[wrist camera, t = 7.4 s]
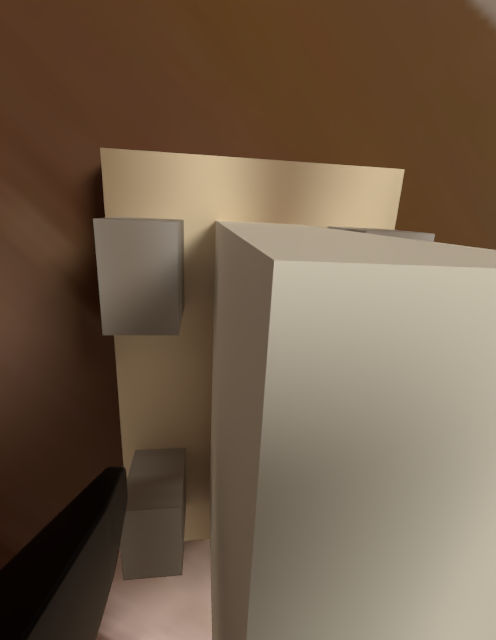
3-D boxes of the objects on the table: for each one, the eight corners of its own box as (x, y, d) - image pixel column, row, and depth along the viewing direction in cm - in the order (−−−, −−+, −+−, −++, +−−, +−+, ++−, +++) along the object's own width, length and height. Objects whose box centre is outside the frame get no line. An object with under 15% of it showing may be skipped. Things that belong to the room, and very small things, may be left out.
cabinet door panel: (302, 224, 12) (686, 275, 2) (276, 500, 15) (391, 955, 6) (215, 220, 12) (273, 259, 2) (209, 504, 15) (220, 999, 6)
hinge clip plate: (382, 174, 13) (468, 155, 9) (332, 503, 18) (373, 594, 14) (112, 155, 12) (61, 123, 8) (135, 516, 17) (112, 622, 12)
